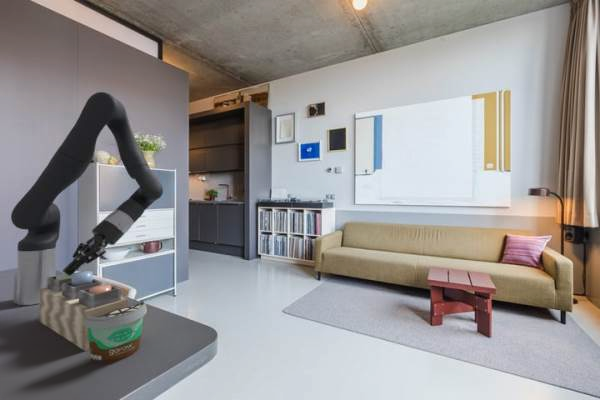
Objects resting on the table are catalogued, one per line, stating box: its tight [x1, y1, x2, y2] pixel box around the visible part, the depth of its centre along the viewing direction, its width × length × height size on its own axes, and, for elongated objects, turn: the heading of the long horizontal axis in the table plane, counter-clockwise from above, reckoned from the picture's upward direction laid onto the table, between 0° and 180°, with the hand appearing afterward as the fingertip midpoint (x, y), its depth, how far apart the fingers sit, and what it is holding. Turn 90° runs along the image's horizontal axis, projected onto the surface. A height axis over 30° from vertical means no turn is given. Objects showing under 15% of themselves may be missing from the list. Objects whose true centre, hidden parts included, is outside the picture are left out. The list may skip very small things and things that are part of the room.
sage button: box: [55, 273, 72, 281], centre depth 78 cm, size 4×4×3 cm
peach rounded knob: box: [89, 284, 111, 294], centre depth 67 cm, size 4×4×3 cm
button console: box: [39, 275, 129, 352], centre depth 73 cm, size 28×9×12 cm, turn 59°
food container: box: [84, 299, 148, 364], centre depth 60 cm, size 12×6×10 cm, turn 148°
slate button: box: [71, 270, 94, 287], centre depth 73 cm, size 4×4×3 cm
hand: (66, 273), depth 78 cm, fingers closed
